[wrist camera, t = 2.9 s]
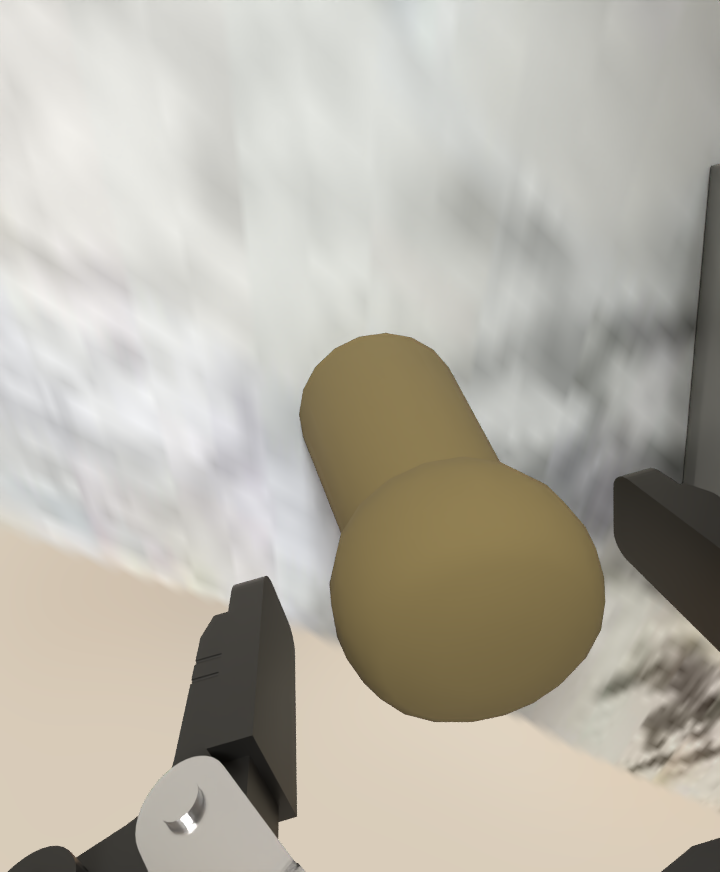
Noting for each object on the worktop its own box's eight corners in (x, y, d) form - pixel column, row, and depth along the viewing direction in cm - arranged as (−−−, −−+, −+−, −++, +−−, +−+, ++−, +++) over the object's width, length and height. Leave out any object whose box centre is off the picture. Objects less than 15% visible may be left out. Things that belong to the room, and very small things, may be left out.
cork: (484, 428, 19) (708, 669, 9) (357, 509, 19) (429, 814, 9) (407, 298, 16) (598, 427, 6) (264, 397, 17) (230, 653, 7)
